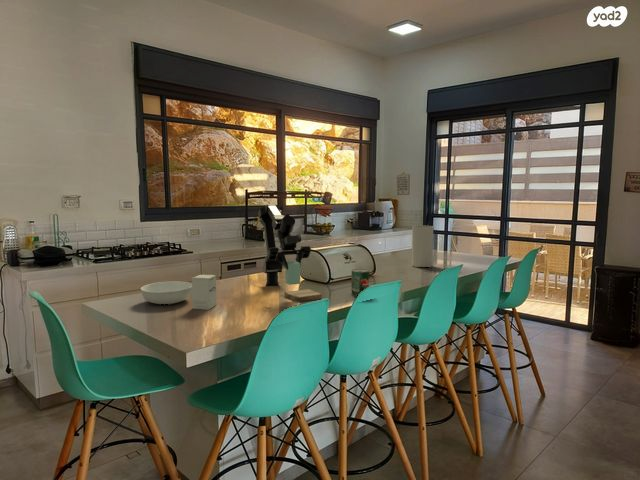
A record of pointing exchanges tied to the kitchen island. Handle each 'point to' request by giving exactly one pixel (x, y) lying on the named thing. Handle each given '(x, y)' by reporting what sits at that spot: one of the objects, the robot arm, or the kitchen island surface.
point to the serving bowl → (167, 292)
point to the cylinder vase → (422, 246)
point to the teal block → (292, 273)
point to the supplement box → (204, 292)
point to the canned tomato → (359, 280)
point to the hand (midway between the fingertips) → (293, 268)
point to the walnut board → (302, 295)
